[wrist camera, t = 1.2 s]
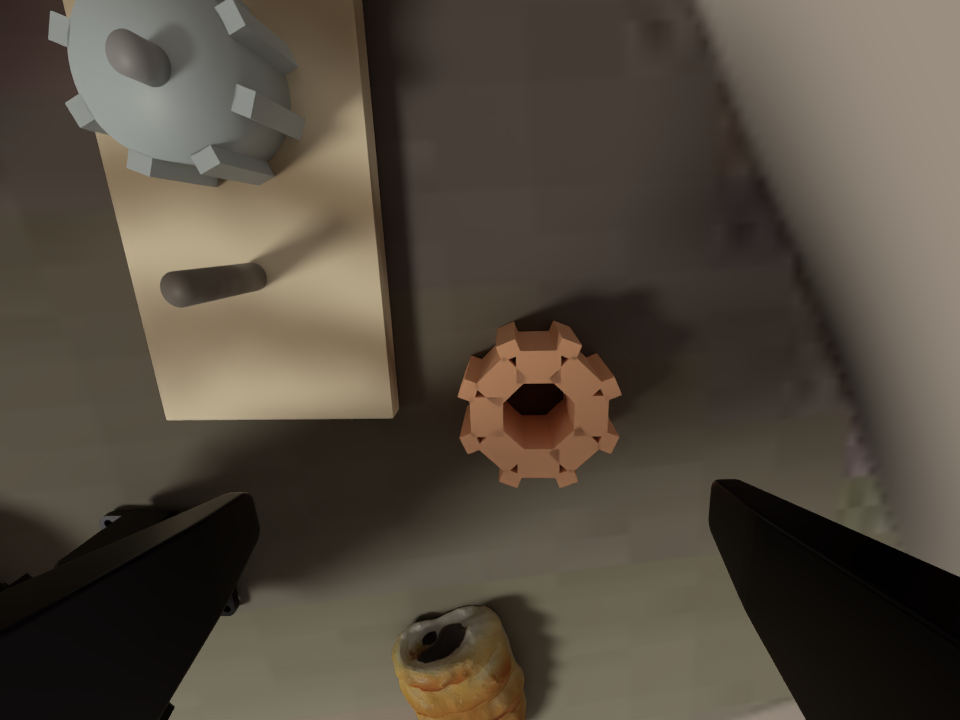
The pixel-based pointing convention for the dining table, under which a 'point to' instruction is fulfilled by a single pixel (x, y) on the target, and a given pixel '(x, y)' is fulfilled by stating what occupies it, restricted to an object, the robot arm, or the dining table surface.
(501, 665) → the pastry
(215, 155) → the gear
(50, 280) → the dining table surface
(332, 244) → the gear board
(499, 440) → the gear
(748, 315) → the dining table surface
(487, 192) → the dining table surface
